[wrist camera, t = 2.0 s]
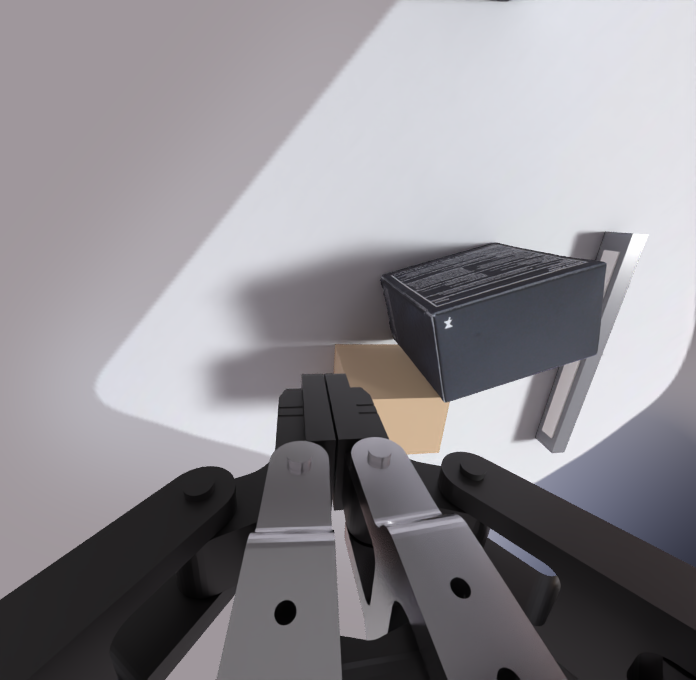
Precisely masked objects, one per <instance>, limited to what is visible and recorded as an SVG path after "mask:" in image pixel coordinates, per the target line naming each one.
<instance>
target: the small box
mask: <svg viewBox="0 0 696 680" xmlns="http://www.w3.org/2000/svg"><path fill="white" fill-rule="evenodd" d="M606 268H607V263H605V262H602V261H595V260H585V259H577V258H571V257H566V256H559V255H554V254H550V253H544V252H539V251H533V250H528V249H522V248H518V247H513V246H509V245H504V244H500V243H493V244H490V245H486V246H482V247H478V248H475V249H472V250H468V251H464V252H460V253H457V254H454V255H450V256H447V257H444V258H440V259H436V260H433V261H428V262H425V263H422V264H419V265H415V266H411V267H408V268H405V269H402V270H398V271H395V272H392V273H388V274H384V275H382V277H381V279H380V281H381V285H382V288H383V290H384V296H385V301H386V305H387V310H388V315H389V320H390V321H389V324H390V328H391V331H392V334H393V338H394V340H395V341H396V342H397V343H398V345H399V346H400V347H401V348H402V350H403V351H404V352H405V353H406V355H407V356H408V357H409V358H410V360H411V361H412V362H413V363H414V365H415V366H416V367H417V368H418V370H419V371H420V372H421V373H422V375H423V376H424V377H425V378H426V380H427V381H428V382H429V384H430V385H431V386H432V387H433V389H434V390H435V391H436V392H437V394H438V395H439V396H440V397H441V399H442V401H443V402H444V403H447V402H450V401H453V400H456V399H459V398H462V397H466V396H469V395H472V394H475V393H478V392H481V391H484V390H487V389H490V388H493V387H496V386H500V385H503V384H506V383H509V382H512V381H515V380H518V379H522V378H525V377H528V376H531V375H534V374H537V373H540V372H544V371H547V370H550V369H553V368H556V367H559V366H563V365H566V364H569V363H572V362H575V361H579V360H582V359H585V358H588V357H591V356H595V355H596V354H597V352H598V345H599V337H600V327H601V317H602V306H603V296H604V285H605V275H606Z"/></svg>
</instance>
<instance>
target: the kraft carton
mask: <svg viewBox="0 0 696 680" xmlns="http://www.w3.org/2000/svg"><path fill="white" fill-rule="evenodd" d="M342 373H345V374H346V376H347V379H348V382H349V385H350V387H361V388H363V389H364V390H365V391H366V392H367V393H369V394H370V396H371V398H372V400H373V403H374V406H375V407H376V410H377V414H379V417H380V419H381V421H382V424H383V426H384V428H385V431H386V433H387V435H388V437H389V440H391V441H393V442H395V443H397V444H398V445H399V446H401V447H402V448H403V450H404V451H405V452H406V454H422V453H439V450H440V445H441V440H442V436H443V431H444V426H445V421H446V417H447V412H448V407H449V403H450V402H447V403H444V402H443V401H442V399H441V397H440V396H439V395H438V394H437V392H436V391H435V390H434V389H433V387H432V386H431V385H430V384H429V382H428V381H427V380H426V378H425V377H424V376H423V375H422V373H421V372H420V371H419V370H418V368H417V367H416V366H415V365H414V363H413V362H412V361H411V360H410V358H409V357H408V356H407V355H406V353H405V352H404V351H403V350H402V348H401V347H400V346H399V345H387V344H335V357H334V374H342Z"/></svg>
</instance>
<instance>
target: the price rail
mask: <svg viewBox="0 0 696 680" xmlns="http://www.w3.org/2000/svg"><path fill="white" fill-rule="evenodd" d="M647 238H648V235H646V234H632V233H618V232H605V235H604V238H603V240H602V243H601V246H600V249H599V252H598V255H597V258H596V261H602V262H605V263H607V268H606V275H605V285H604V296H603V306H602V317H601V327H600V337H599V345H598V352H597V354H596V355H595V356H591V357H588V358H585V359H582V360H579V361H575V362H572V363H569V364H566V365H563V366H560V367H559V370H558V373H557V375H556V378H555V381H554V384H553V387H552V390H551V393H550V396H549V399H548V402H547V405H546V408H545V411H544V414H543V417H542V420H541V422H540V425H539V428H538V431H537V434H536V437H535V438H536V439H537V440H538V441H539V442H541V443H542V444H543V445H544V446H545V447H546V448H547V449H548V450H549V451H550V452H551V453H560V452H564V451H565V449H566V446H567V444H568V441H569V438H570V436H571V433H572V431H573V428H574V426H575V423H576V420H577V418H578V415H579V413H580V410H581V408H582V405H583V402H584V400H585V397H586V395H587V392H588V389H589V387H590V384H591V382H592V379H593V377H594V374H595V371H596V369H597V366H598V364H599V361H600V359H601V356H602V353H603V351H604V348H605V346H606V343H607V341H608V338H609V335H610V333H611V330H612V328H613V325H614V323H615V320H616V317H617V315H618V312H619V310H620V307H621V305H622V302H623V299H624V297H625V294H626V292H627V289H628V286H629V284H630V281H631V279H632V276H633V274H634V271H635V268H636V266H637V263H638V261H639V258H640V256H641V253H642V250H643V248H644V245H645V243H646V240H647Z"/></svg>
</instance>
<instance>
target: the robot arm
mask: <svg viewBox="0 0 696 680" xmlns="http://www.w3.org/2000/svg"><path fill="white" fill-rule="evenodd" d="M332 500H333V507H334V510H344V514H345V519H346V522H345V541H346V546H347V550H348V554H349V558H350V562H351V566H352V570H353V574H354V578H355V582H356V587H357V591H358V595H359V599H360V603H361V607H362V611H363V616H364V622H365V630H366V631H365V632H366V640H363V639H356V638H351V637H344V636H340V629H339V609H338V591H337V590H338V589H337V569H336V549H335V535H334V530H332V521H331V507H332ZM490 528H491V529H492V530H494V531H495V532H497V533H499V534H500V535H502V536H503V537H505V538H506V539H508V540H509V541H511V542H512V543H514V544H516V545H517V546H519V547H520V548H522V549H523V550H525V551H527V552H528V553H530V554H531V555H533V556H534V557H536V558H537V559H539V560H541V561H542V562H544V563H545V564H546V565H548V566H549V567H550V568H551V569H552V570H553V571H554V572H555V573H556V575H557V576H547V575H544V574H542V573H540V572H538V571H537V570H535V569H534V568H532V567H530V566H529V565H528V564H526V563H525V562H523V561H522V560H520V559H519V558H517V557H516V556H514V555H513V554H511V553H510V552H508V551H507V550H505V549H503V548H502V547H501V546H499V545H498V544H496V543H495V542H493V541H492V540H490V539H489V538H487V537H488V534H489V530H490ZM234 595H235V598H234V602H233V607H232V611H231V616H230V620H229V625H228V630H227V634H226V638H225V643H224V648H223V652H222V657H221V661H220V666H219V670H218V675H217V679H216V680H696V568H695V567H693V566H691V565H689V564H688V563H686V562H684V561H682V560H680V559H678V558H676V557H674V556H672V555H670V554H668V553H666V552H664V551H662V550H660V549H659V548H657V547H654V546H653V545H651V544H649V543H647V542H645V541H643V540H641V539H639V538H637V537H635V536H633V535H631V534H629V533H628V532H625V531H624V530H622V529H620V528H618V527H616V526H614V525H612V524H610V523H608V522H606V521H604V520H602V519H600V518H599V517H597V516H595V515H593V514H591V513H589V512H587V511H585V510H583V509H581V508H579V507H577V506H575V505H573V504H571V503H569V502H567V501H566V500H564V499H562V498H560V497H558V496H556V495H554V494H552V493H550V492H548V491H546V490H544V489H542V488H540V487H538V486H537V485H535V484H533V483H531V482H529V481H527V480H525V479H523V478H521V477H519V476H517V475H515V474H513V473H511V472H509V471H508V470H506V469H504V468H502V467H500V466H498V465H496V464H494V463H492V462H490V461H488V460H486V459H484V458H482V457H480V456H478V455H475V454H472V453H467V452H454V453H450V454H448V455H447V456H445V457H444V459H443V461H442V464H441V466H437V465H431V464H426V463H421V462H416V461H413V460H411V459H409V458H408V456H407V454H406V452H405V451H404V450H403V448H402V447H401V446H399V445H398V444H397V443H395V442H393V441H391V440H389V437H388V435H387V433H386V431H385V428H384V426H383V424H382V421H381V419H380V417H379V414H377V410H376V407H375V406H374V403H373V400H372V398H371V396H370V394H369V393H367V392H366V391H365V390H364V389H363V388H361V387H350V385H349V382H348V379H347V376H346V374H345V373H342V374H324V376H323V374H302V384H301V389H286V390H285V391H284V392H283V393H282V394H281V396H280V397H279V405H278V419H277V433H276V447H275V451H274V453H273V454H272V456H271V458H270V462H269V463H268V464H266V465H265V466H264V467H263V468H261V469H259V470H258V471H256V472H253V473H251V474H248V475H245V476H242V477H239V478H235V479H234V477H233V475H232V474H231V473H230V472H229V471H227V470H225V469H223V468H220V467H214V466H207V467H200V468H196V469H193V470H190V471H188V472H186V473H184V474H182V475H180V476H179V477H177V478H176V479H174V480H173V481H171V482H170V483H168V484H167V485H166V486H164V487H163V488H161V489H160V490H158V491H157V492H155V493H154V494H153V495H151V496H150V497H148V498H147V499H145V500H144V501H142V502H141V503H140V504H138V505H137V506H135V507H134V508H132V509H131V510H130V511H128V512H127V513H125V514H124V515H122V516H121V517H119V518H118V519H117V520H115V521H114V522H112V523H111V524H109V525H108V526H106V527H105V528H103V529H102V530H101V531H99V532H98V533H96V534H95V535H93V536H92V537H90V538H89V539H87V540H86V541H85V542H83V543H82V544H80V545H79V546H77V547H76V548H75V549H73V550H72V551H70V552H69V553H67V554H66V555H64V556H63V557H61V558H60V559H59V560H57V561H56V562H54V563H53V564H51V565H50V566H48V567H47V568H46V569H44V570H43V571H41V572H40V573H38V574H37V575H35V576H34V577H33V578H31V579H30V580H28V581H27V582H25V583H24V584H22V585H21V586H19V587H18V588H17V589H15V590H14V591H12V592H11V593H9V594H8V595H7V596H5V597H4V598H2V599H1V600H0V680H165V679H166V678H167V677H168V675H169V674H170V673H171V672H172V671H173V669H174V668H175V667H176V665H177V664H178V663H179V662H180V661H181V659H182V658H183V657H184V656H185V655H186V653H187V652H188V651H189V650H190V649H191V647H192V646H193V645H194V644H195V642H196V641H197V640H198V639H199V638H200V637H201V635H202V634H203V633H204V632H205V630H206V629H207V628H208V627H209V625H210V624H211V623H212V622H213V621H214V619H215V618H216V617H217V616H218V615H219V613H220V612H221V611H222V610H223V609H224V607H225V606H226V605H227V604H228V602H229V601H230V600H231V599H232V598H233V596H234Z"/></svg>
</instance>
